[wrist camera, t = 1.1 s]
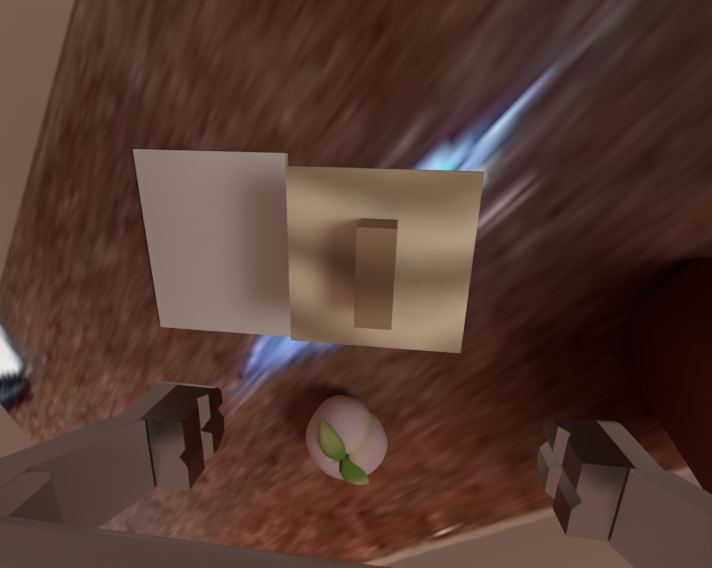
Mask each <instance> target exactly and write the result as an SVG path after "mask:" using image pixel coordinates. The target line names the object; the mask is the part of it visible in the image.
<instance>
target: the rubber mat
mask: <svg viewBox="0 0 712 568" xmlns="http://www.w3.org/2000/svg"><path fill="white" fill-rule="evenodd" d="M133 154H134V161H135V167H136V174H137V180H138V186H139V193H140V199H141V205H142V212H143V218H144V224H145V231H146V237H147V243H148V250H149V256H150V262H151V269H152V275H153V281H154V288H155V294H156V300H157V307H158V313H159V319H160V326H161V327H169V328H182V329H195V330H209V331H222V332H235V333H249V334H262V335H275V336H289V337H291V322H290V291H289V261H288V230H287V200H286V169H285V166H288V153H259V152H220V151H182V150H143V149H133Z"/></svg>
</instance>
